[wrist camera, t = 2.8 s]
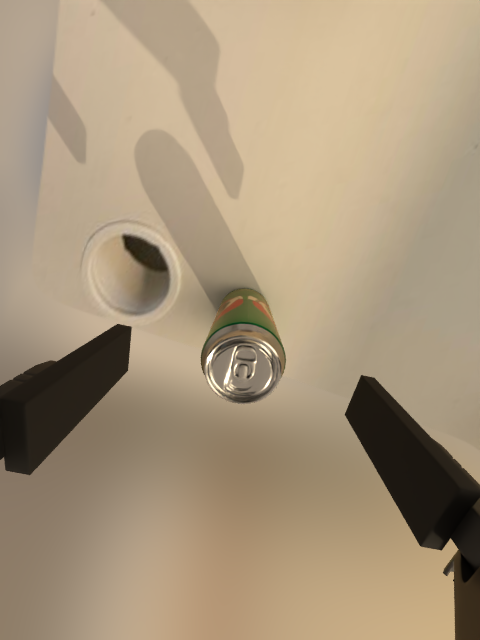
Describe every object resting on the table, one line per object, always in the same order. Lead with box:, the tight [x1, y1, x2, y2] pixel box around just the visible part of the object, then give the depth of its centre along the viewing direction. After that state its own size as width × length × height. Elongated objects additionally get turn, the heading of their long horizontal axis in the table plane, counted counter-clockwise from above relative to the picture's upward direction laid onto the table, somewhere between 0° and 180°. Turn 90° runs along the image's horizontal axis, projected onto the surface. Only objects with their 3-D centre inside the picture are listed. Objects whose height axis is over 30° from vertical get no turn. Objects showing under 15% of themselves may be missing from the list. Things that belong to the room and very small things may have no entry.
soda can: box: [201, 288, 286, 404], centre depth 19 cm, size 5×5×12 cm
